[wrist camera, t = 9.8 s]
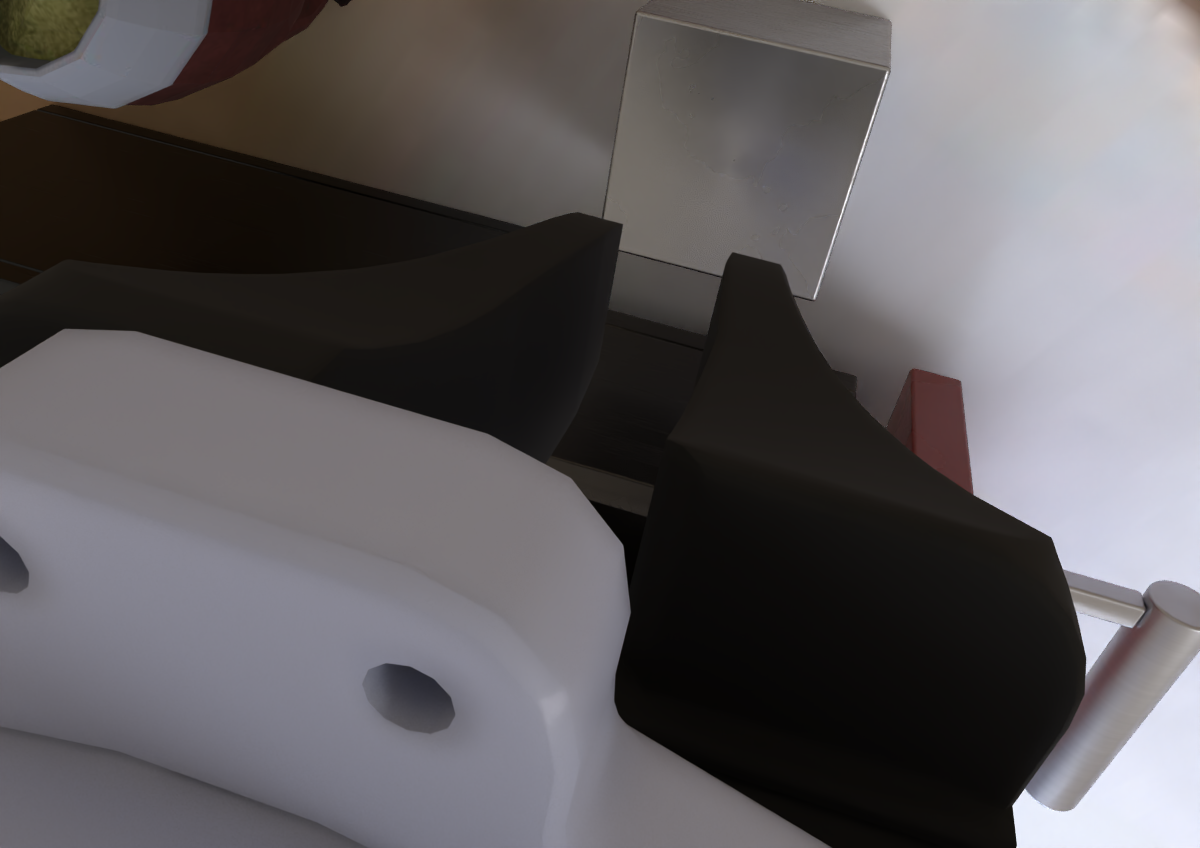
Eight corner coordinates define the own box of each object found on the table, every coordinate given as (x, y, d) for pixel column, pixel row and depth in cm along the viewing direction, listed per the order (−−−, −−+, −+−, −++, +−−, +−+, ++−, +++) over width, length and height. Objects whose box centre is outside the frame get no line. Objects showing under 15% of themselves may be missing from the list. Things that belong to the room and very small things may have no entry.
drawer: (1215, 446, 21) (1325, 662, 16) (1029, 720, 27) (1062, 946, 21) (432, 238, 23) (294, 364, 18) (417, 530, 29) (310, 690, 24)
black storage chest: (546, 231, 23) (407, 397, 17) (505, 553, 30) (393, 764, 23) (51, 103, 25) (-252, 206, 18) (114, 432, 32) (-94, 596, 25)
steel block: (892, 20, 19) (891, 67, 15) (828, 221, 21) (815, 303, 18) (683, -26, 19) (635, 10, 16) (645, 176, 22) (596, 246, 18)
